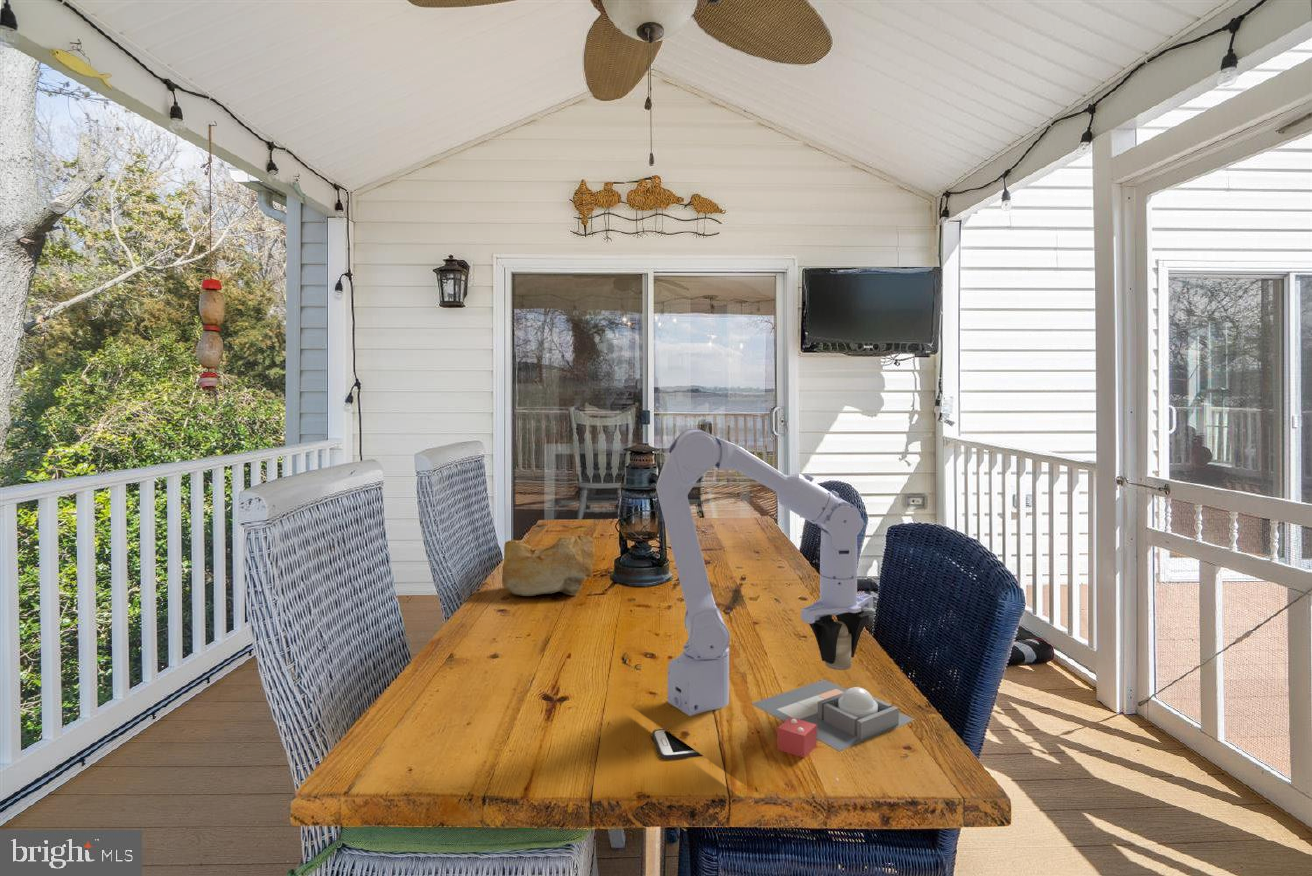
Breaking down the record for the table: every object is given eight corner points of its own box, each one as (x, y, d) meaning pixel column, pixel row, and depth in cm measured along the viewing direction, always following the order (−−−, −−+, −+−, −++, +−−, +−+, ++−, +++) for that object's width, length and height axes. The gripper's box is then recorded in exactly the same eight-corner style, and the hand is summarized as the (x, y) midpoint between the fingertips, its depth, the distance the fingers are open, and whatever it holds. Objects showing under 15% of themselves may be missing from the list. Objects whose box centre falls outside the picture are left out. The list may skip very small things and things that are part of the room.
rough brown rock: (604, 586, 186) (603, 529, 187) (592, 599, 170) (591, 536, 170) (519, 587, 188) (517, 531, 189) (499, 600, 172) (497, 538, 172)
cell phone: (651, 736, 103) (650, 729, 103) (746, 726, 106) (746, 720, 106) (661, 763, 96) (661, 756, 96) (764, 752, 98) (764, 745, 98)
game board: (839, 758, 96) (839, 733, 96) (751, 709, 111) (751, 688, 111) (915, 726, 105) (915, 703, 105) (824, 685, 120) (824, 665, 120)
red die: (804, 765, 94) (804, 733, 94) (777, 756, 96) (777, 724, 96) (816, 752, 97) (816, 721, 97) (790, 744, 100) (790, 714, 99)
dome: (860, 731, 101) (860, 699, 100) (830, 716, 105) (830, 686, 105) (885, 720, 104) (886, 690, 103) (855, 707, 108) (855, 677, 108)
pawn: (839, 672, 110) (839, 627, 109) (820, 664, 113) (820, 620, 113) (856, 666, 112) (856, 622, 112) (837, 658, 115) (837, 616, 115)
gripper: (825, 587, 104) (825, 677, 105) (889, 573, 112) (888, 656, 113) (791, 577, 110) (791, 662, 111) (854, 564, 118) (853, 643, 119)
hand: (837, 658), depth 113 cm, fingers closed on pawn, 4 cm apart
